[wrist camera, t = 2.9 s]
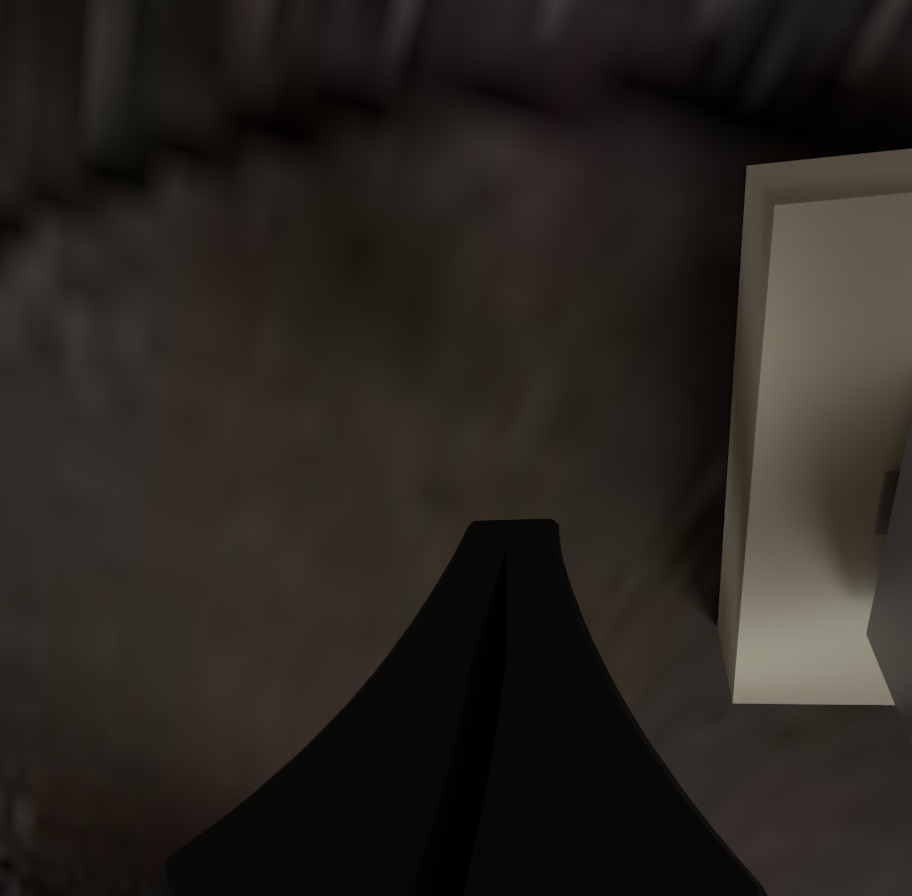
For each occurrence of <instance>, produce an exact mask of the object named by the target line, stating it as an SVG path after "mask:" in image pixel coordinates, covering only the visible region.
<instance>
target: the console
mask: <svg viewBox="0 0 912 896" xmlns="http://www.w3.org/2000/svg"><path fill="white" fill-rule="evenodd" d="M911 417H912V148H911V149H902V150H892V151H882V152H873V153H863V154H854V155H844V156H834V157H825V158H815V159H805V160H796V161H786V162H776V163H767V164H757V165H747V170H746V185H745V201H744V217H743V233H742V249H741V264H740V280H739V296H738V312H737V327H736V343H735V359H734V375H733V391H732V406H731V422H730V438H729V454H728V470H727V485H726V501H725V517H724V533H723V548H722V564H721V580H720V596H719V612H718V627H717V629H718V634H719V639H720V644H721V649H722V654H723V659H724V664H725V669H726V673H727V678H728V683H729V688H730V693H731V698H732V703H748V704H841V705H895V704H894V701H893V699H892V696H891V694H890V691H889V689H888V686H887V684H886V682H885V679H884V677H883V674H882V672H881V669H880V667H879V664H878V662H877V660H876V657H875V655H874V652H873V650H872V647H871V645H870V642H869V640H868V638H867V635H866V632H867V627H868V622H869V618H870V613H871V608H872V603H873V598H874V594H875V589H876V584H877V579H878V575H879V570H880V565H881V560H882V555H883V551H884V546H885V541H886V536H887V532H888V527H889V522H890V517H891V513H892V508H893V503H894V498H895V493H896V489H897V484H898V479H899V474H900V470H901V465H902V460H903V455H904V450H905V446H906V441H907V436H908V431H909V427H910V422H911Z"/></svg>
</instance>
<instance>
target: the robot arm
mask: <svg viewBox="0 0 912 896" xmlns="http://www.w3.org/2000/svg"><path fill="white" fill-rule="evenodd" d="M146 896H767V894H766V892H765V890H764V888H763V886H762V885H761V884H760V883H759V882H758V880H757V879H756V878H755V877H754V876H753V875H752V874H751V872H750V871H749V870H748V869H747V868H746V867H745V866H744V865H743V863H742V862H741V861H740V860H739V859H738V858H737V857H736V855H735V854H734V853H733V852H732V851H731V849H730V848H729V847H728V846H727V845H726V843H725V842H724V841H723V840H722V839H721V837H720V836H719V835H718V834H717V833H716V831H715V830H714V829H713V828H712V826H711V825H710V824H709V823H708V821H707V820H706V819H705V817H704V816H703V815H702V814H701V812H700V811H699V810H698V808H697V807H696V806H695V805H694V803H693V802H692V801H691V799H690V798H689V797H688V796H687V794H686V793H685V792H684V790H683V789H682V787H681V786H680V784H679V783H678V782H677V780H676V779H675V777H674V776H673V774H672V773H671V772H670V770H669V769H668V767H667V766H666V765H665V763H664V762H663V760H662V759H661V757H660V756H659V755H658V753H657V752H656V750H655V749H654V747H653V746H652V745H651V743H650V742H649V740H648V739H647V737H646V735H645V734H644V732H643V731H642V729H641V727H640V726H639V724H638V723H637V721H636V719H635V718H634V716H633V715H632V713H631V711H630V710H629V708H628V706H627V704H626V703H625V701H624V699H623V697H622V696H621V694H620V692H619V691H618V689H617V687H616V685H615V683H614V681H613V680H612V678H611V676H610V674H609V672H608V670H607V668H606V666H605V664H604V662H603V660H602V658H601V656H600V654H599V652H598V650H597V648H596V646H595V644H594V642H593V640H592V637H591V635H590V633H589V631H588V628H587V626H586V624H585V621H584V619H583V616H582V614H581V611H580V609H579V606H578V604H577V601H576V598H575V596H574V593H573V591H572V588H571V585H570V582H569V579H568V575H567V572H566V568H565V565H564V561H563V557H562V553H561V544H560V532H559V524H558V523H556V522H555V521H554V520H552V519H522V520H489V521H474V522H472V523H471V524H470V525H469V526H468V528H467V530H466V532H465V534H464V536H463V538H462V540H461V542H460V544H459V546H458V548H457V550H456V551H455V553H454V555H453V557H452V559H451V561H450V562H449V564H448V566H447V567H446V569H445V571H444V573H443V574H442V576H441V578H440V579H439V581H438V583H437V584H436V586H435V587H434V589H433V591H432V592H431V594H430V595H429V597H428V598H427V600H426V602H425V603H424V605H423V606H422V608H421V609H420V611H419V612H418V614H417V615H416V617H415V618H414V620H413V621H412V623H411V624H410V625H409V627H408V628H407V630H406V631H405V632H404V634H403V635H402V636H401V638H400V639H399V641H398V642H397V643H396V645H395V646H394V647H393V649H392V650H391V652H390V653H389V654H388V656H387V657H386V658H385V659H384V661H383V662H382V663H381V665H380V666H379V667H378V668H377V670H376V671H375V672H374V673H373V674H372V676H371V677H370V678H369V679H368V680H367V682H366V683H365V684H364V685H363V686H362V688H361V689H360V690H359V691H358V692H357V693H356V694H355V696H354V697H353V698H352V699H351V700H350V701H349V702H348V703H347V705H346V706H345V707H344V708H343V709H342V710H341V711H340V712H339V713H338V714H337V715H336V716H335V717H334V718H333V719H332V720H331V721H330V722H329V723H328V724H327V725H326V727H325V728H324V729H323V730H322V731H321V732H320V733H319V734H318V735H317V736H316V737H315V738H314V739H313V740H312V741H311V742H310V743H309V744H308V745H307V746H306V747H305V748H304V749H303V750H301V751H300V752H299V753H298V754H297V755H296V756H295V757H294V758H293V759H292V760H291V761H289V762H288V763H287V764H286V765H285V766H284V767H283V768H281V769H280V770H279V771H278V772H277V773H276V774H275V775H273V776H272V777H271V778H270V779H269V780H268V781H267V782H265V783H264V784H263V785H262V786H261V787H260V788H259V789H257V790H256V791H255V792H254V793H253V794H252V795H251V796H249V797H248V798H247V799H246V800H245V801H243V802H242V803H241V804H240V805H239V806H237V807H236V808H235V809H234V810H232V811H231V812H230V813H228V814H227V815H226V816H224V817H223V818H222V819H220V820H219V821H218V822H216V823H215V824H214V825H212V826H211V827H210V828H208V829H207V830H205V831H204V832H203V833H201V834H200V835H199V836H197V837H196V838H195V839H193V840H192V841H191V842H189V843H188V844H187V845H185V846H184V847H183V848H181V849H180V850H178V851H177V852H176V853H174V854H173V855H171V856H170V857H168V858H167V859H166V860H165V861H164V863H163V865H162V867H161V869H160V871H159V873H158V875H157V876H156V878H155V880H154V882H153V883H152V885H151V887H150V888H149V890H148V892H147V894H146Z"/></svg>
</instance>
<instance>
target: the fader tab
mask: <svg viewBox="0 0 912 896" xmlns="http://www.w3.org/2000/svg"><path fill="white" fill-rule="evenodd" d="M866 635H867V638H868V640H869V642H870V645H871V647H872V650H873V652H874V655H875V657H876V660H877V662H878V664H879V667H880V669H881V672H882V674H883V677H884V679H885V682H886V684H887V686H888V689H889V691H890V694H891V696H892V699H893V701H894V704H895V706H896V708H897V711H898V713H899V716H900V718H901V721H902V723H903V725H904V728H905V730H906V733H907V735H908V738H909V740H910V743H911V745H912V417H911V422H910V427H909V431H908V436H907V441H906V446H905V450H904V455H903V460H902V465H901V470H900V474H899V479H898V484H897V489H896V493H895V498H894V503H893V508H892V513H891V517H890V522H889V527H888V532H887V536H886V541H885V546H884V551H883V555H882V560H881V565H880V570H879V575H878V579H877V584H876V589H875V594H874V598H873V603H872V608H871V613H870V618H869V622H868V627H867V632H866Z"/></svg>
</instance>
